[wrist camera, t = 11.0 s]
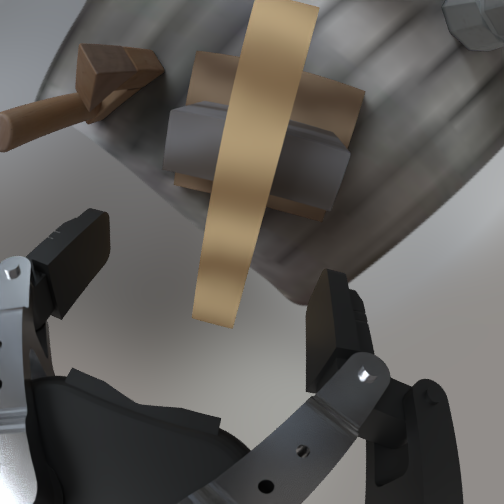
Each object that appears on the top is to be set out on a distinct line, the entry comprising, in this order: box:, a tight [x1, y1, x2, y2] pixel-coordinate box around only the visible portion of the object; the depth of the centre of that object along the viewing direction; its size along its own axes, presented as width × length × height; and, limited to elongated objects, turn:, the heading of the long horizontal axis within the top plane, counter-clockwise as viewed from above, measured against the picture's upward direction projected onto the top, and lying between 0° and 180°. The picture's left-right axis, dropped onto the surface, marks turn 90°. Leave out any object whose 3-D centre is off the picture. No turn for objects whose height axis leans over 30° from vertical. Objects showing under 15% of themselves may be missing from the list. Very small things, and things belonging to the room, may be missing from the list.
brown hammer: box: [0, 43, 164, 152], centre depth 23 cm, size 4×11×18 cm, turn 118°
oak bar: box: [192, 0, 319, 328], centre depth 21 cm, size 24×4×5 cm, turn 167°
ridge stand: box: [162, 51, 365, 222], centre depth 27 cm, size 16×18×12 cm
